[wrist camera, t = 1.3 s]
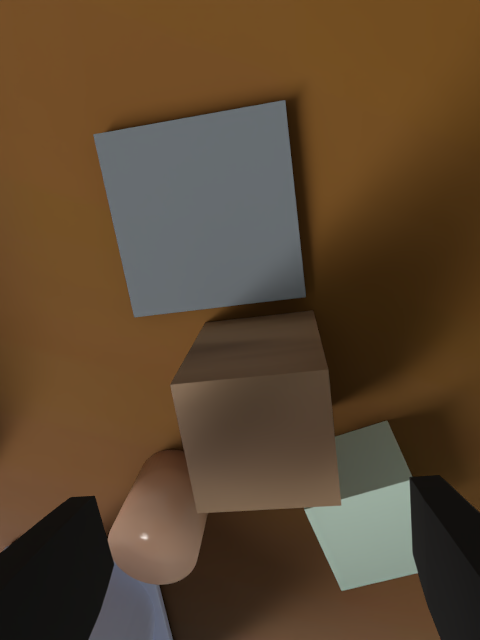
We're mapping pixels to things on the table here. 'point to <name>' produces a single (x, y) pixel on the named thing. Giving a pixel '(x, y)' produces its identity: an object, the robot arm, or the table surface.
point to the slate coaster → (205, 210)
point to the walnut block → (258, 415)
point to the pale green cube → (368, 511)
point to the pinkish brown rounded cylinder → (159, 523)
